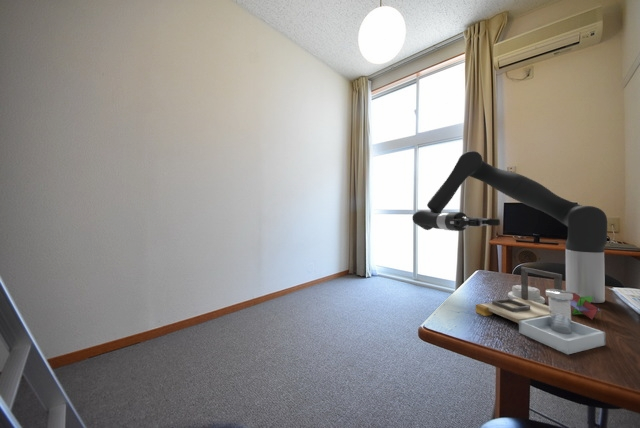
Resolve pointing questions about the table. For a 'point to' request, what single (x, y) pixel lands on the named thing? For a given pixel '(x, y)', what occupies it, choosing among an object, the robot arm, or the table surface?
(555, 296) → the pin
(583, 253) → the robot arm
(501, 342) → the table surface
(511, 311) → the dolly
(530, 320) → the tray
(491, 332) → the table surface
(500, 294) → the table surface
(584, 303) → the geometric puzzle
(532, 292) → the mechanical component
